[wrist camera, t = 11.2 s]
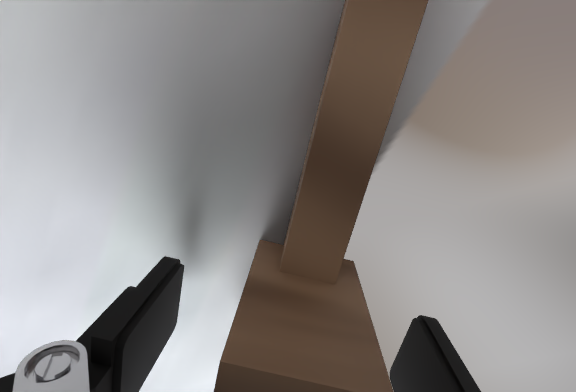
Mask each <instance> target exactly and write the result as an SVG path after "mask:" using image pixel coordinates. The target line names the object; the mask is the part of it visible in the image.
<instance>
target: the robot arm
mask: <svg viewBox="0 0 576 392" xmlns="http://www.w3.org/2000/svg"><path fill="white" fill-rule="evenodd" d="M183 272H184V265H183V264H180V260H179V259H174V258H170V257H166V256H165V257H163V258H162V259H161V260H160V261H159V262H158V264H157V265H156V266H155V267H154V268H153V269H152V270H151V271H150V272H149V273H148V275H147V276H146V277H145V278H144V279H143V280H142V281H141V282H140V283H139V284H138V286H137V287H132V286H130V287H128V288H127V289H125V290H124V291H123V292H122V294H121V295H120V296H119V297H118V298H117V299H116V300H115V301H114V302H113V303H112V304H111V305H110V306H109V307H108V308H107V309H106V310H105V311H104V312H103V313H102V314H101V315H100V316H99V318H98V319H97V320H96V321H95V322H94V323H93V324H92V325H91V326H90V327H89V328H88V329H87V330H86V331H85V332H84V333H83V334H82V335H81V336H80V337H79V338H78V339H77V341H71V340H62V341H55V342H51V343H48V344H45V345H43V346H41V347H39V348H37V349H35V350H33V351H32V352H31V353H30V354H28V355H27V356H26V357H25V358H24V359H23V360H22V361H21V362H20V364H19V365H18V368H17V370H16V373H13V374H11V375H8V376H5V377H2V378H0V392H139V390H140V388H141V387H142V385H143V383H144V381H145V380H146V378H147V376H148V374H149V373H150V371H151V369H152V367H153V366H154V364H155V362H156V360H157V359H158V357H159V355H160V353H161V352H162V350H163V348H164V346H165V345H166V343H167V341H168V339H169V338H170V336H171V334H172V333H173V331H174V329H175V326H176V323H177V317H178V309H179V302H180V294H181V287H182V279H183ZM390 380H391V384H392V387H393V390H394V392H481V391H480V389H479V388H478V386H477V384H476V383H475V381H474V379H473V378H472V376H471V375H470V373H469V371H468V370H467V368H466V366H465V365H464V363H463V361H462V360H461V358H460V356H459V355H458V353H457V351H456V350H455V348H454V347H453V345H452V343H451V342H450V340H449V339H448V337H447V335H446V333H445V332H444V330H443V328H442V327H441V325H440V324H439V322H438V321H437V320H436V319H435V318H430V317H426V316H422V315H420V316H418V317H417V318H414V319H413V320H412V322H411V325H410V327H409V329H408V331H407V334H406V336H405V338H404V340H403V343H402V345H401V347H400V349H399V352H398V354H397V356H396V358H395V360H394V363H393V365H392V367H391V370H390Z"/></svg>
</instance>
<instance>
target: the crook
mask: <svg viewBox="0 0 576 392" xmlns="http://www.w3.org/2000/svg"><path fill="white" fill-rule="evenodd" d="M427 3H428V0H345V2H344V6H343V10H342V14H341V18H340V22H339V26H338V30H337V34H336V38H335V42H334V46H333V50H332V54H331V58H330V62H329V66H328V70H327V74H326V78H325V82H324V86H323V90H322V94H321V97H320V101H319V105H318V109H317V113H316V117H315V121H314V125H313V129H312V133H311V137H310V141H309V145H308V149H307V153H306V157H305V161H304V165H303V169H302V173H301V177H300V181H299V185H298V189H297V193H296V197H295V201H294V205H293V209H292V213H291V217H290V221H289V225H288V229H287V233H286V237H285V241H284V245H281V244H277V243H273V242H269V241H264V240H260V241H259V244H258V247H257V250H256V253H255V256H254V259H253V262H252V265H251V268H250V271H249V274H248V278H247V281H246V284H245V287H244V290H243V293H242V296H241V299H240V302H239V305H238V308H237V311H236V314H235V317H234V320H233V323H232V326H231V329H230V332H229V336H228V339H227V342H226V345H225V348H224V351H223V354H222V357H221V360H220V364H219V369H218V374H217V379H216V384H215V389H214V392H393V389H392V386H391V382H390V380H389V376H388V373H387V369H386V366H385V363H384V360H383V356H382V353H381V350H380V347H379V343H378V340H377V337H376V333H375V330H374V327H373V324H372V320H371V317H370V314H369V310H368V307H367V304H366V300H365V297H364V294H363V291H362V287H361V284H360V281H359V278H358V274H357V271H356V268H355V265H354V262H353V261H350V260H346V259H343V258H344V255H345V252H346V249H347V246H348V243H349V240H350V237H351V234H352V231H353V228H354V225H355V222H356V219H357V216H358V213H359V210H360V206H361V204H362V201H363V197H364V194H365V191H366V188H367V185H368V182H369V179H370V176H371V173H372V170H373V167H374V164H375V161H376V158H377V155H378V152H379V149H380V146H381V143H382V140H383V137H384V134H385V131H386V128H387V125H388V122H389V119H390V115H391V112H392V109H393V106H394V103H395V100H396V97H397V94H398V91H399V88H400V85H401V82H402V79H403V76H404V73H405V70H406V67H407V64H408V61H409V58H410V55H411V52H412V49H413V46H414V43H415V40H416V36H417V33H418V30H419V27H420V24H421V21H422V18H423V15H424V12H425V9H426V6H427Z"/></svg>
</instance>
